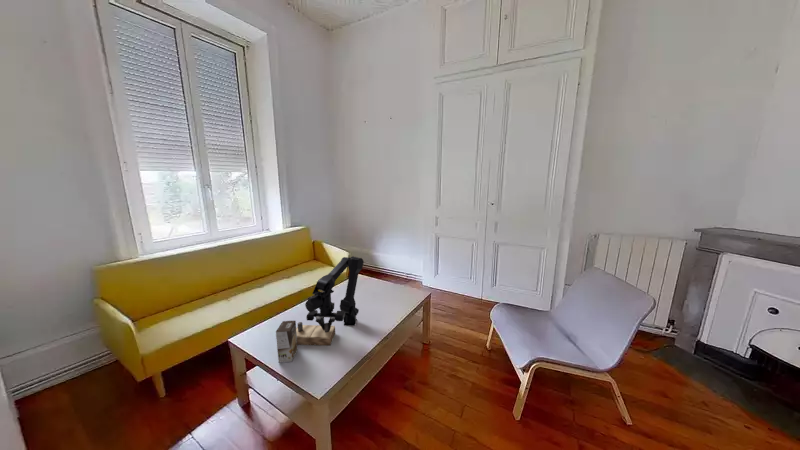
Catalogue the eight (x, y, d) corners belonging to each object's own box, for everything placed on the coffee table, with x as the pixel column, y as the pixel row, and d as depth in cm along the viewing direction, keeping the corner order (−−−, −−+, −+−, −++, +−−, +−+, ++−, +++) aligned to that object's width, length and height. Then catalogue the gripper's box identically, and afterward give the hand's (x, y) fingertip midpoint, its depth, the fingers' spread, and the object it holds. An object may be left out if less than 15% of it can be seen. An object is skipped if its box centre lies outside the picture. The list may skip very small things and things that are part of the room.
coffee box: (292, 362, 124) (289, 331, 120) (278, 362, 123) (275, 332, 120) (298, 349, 133) (295, 320, 129) (284, 349, 132) (282, 320, 129)
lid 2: (334, 327, 144) (334, 318, 143) (329, 338, 134) (329, 329, 133) (317, 326, 144) (316, 318, 143) (310, 338, 135) (310, 329, 134)
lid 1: (316, 326, 144) (316, 318, 143) (310, 338, 135) (309, 329, 134) (298, 326, 145) (298, 317, 144) (291, 337, 135) (290, 328, 134)
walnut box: (335, 333, 145) (335, 327, 144) (330, 345, 135) (329, 338, 134) (299, 332, 145) (298, 326, 145) (291, 344, 136) (290, 337, 135)
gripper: (347, 295, 143) (347, 321, 147) (312, 295, 144) (314, 321, 147) (342, 306, 133) (343, 334, 136) (305, 305, 133) (307, 333, 136)
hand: (326, 330), depth 139 cm, fingers closed on lid 2, 2 cm apart
